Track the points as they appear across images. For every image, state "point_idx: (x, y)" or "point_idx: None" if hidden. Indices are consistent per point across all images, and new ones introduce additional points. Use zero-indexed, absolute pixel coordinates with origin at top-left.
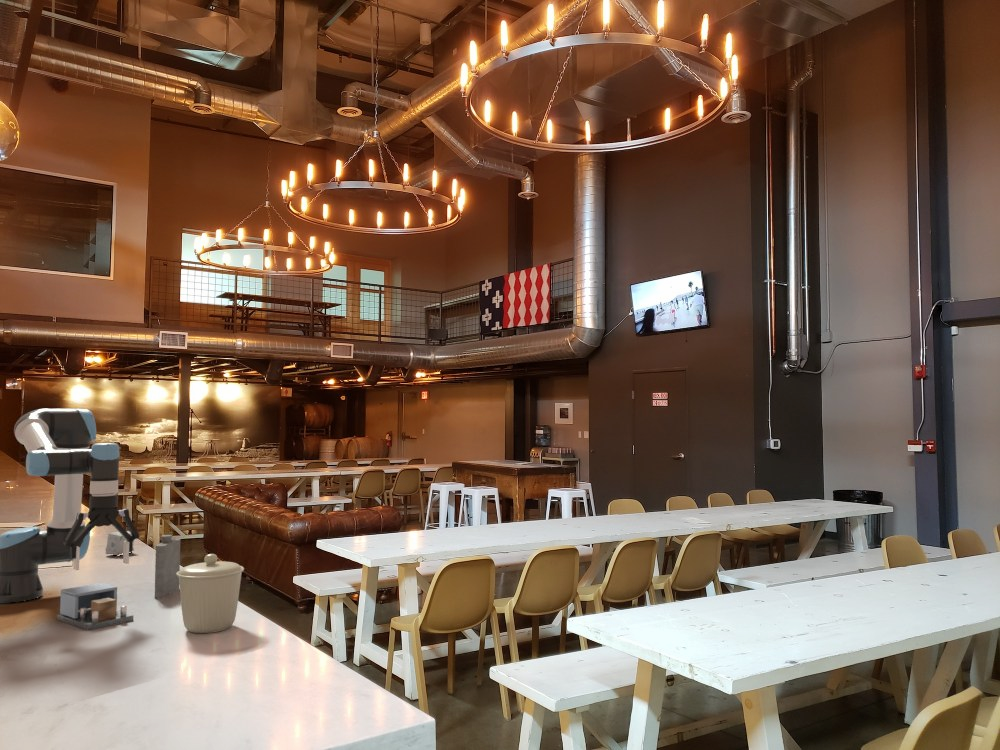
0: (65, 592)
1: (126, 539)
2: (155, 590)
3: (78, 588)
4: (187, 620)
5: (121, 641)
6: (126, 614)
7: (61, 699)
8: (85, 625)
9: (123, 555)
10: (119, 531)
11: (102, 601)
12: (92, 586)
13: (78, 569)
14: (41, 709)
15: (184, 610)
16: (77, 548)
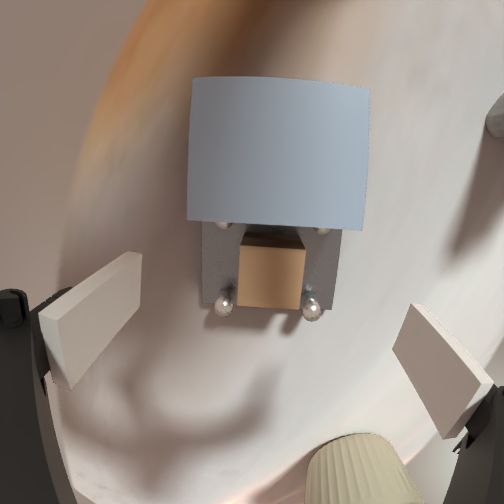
0: (191, 122)
1: (496, 394)
2: (498, 120)
3: (248, 112)
4: (307, 475)
5: (214, 419)
6: (328, 284)
7: (102, 481)
8: (202, 289)
9: (428, 327)
10: (470, 487)
11: (258, 292)
12: (307, 124)
13: (136, 307)
14: (88, 479)
15: (307, 485)
16: (60, 380)
